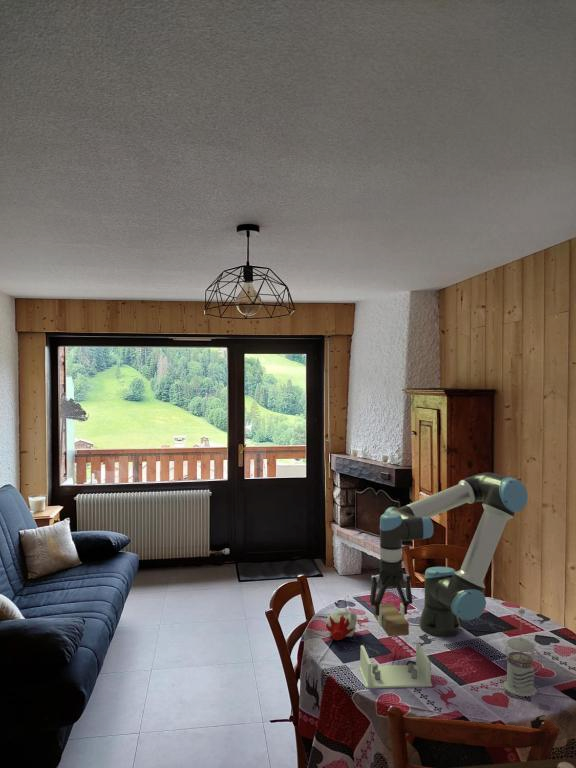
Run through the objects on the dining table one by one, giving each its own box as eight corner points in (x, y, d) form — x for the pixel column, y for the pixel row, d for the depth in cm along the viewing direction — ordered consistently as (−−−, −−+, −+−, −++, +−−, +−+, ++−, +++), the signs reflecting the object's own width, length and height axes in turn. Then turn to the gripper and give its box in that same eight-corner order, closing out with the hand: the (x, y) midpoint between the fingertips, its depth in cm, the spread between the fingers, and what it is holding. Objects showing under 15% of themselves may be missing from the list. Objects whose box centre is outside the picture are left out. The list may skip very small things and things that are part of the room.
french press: (497, 679, 178) (499, 602, 178) (532, 678, 179) (533, 601, 179) (512, 697, 168) (514, 615, 168) (549, 695, 169) (550, 615, 169)
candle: (357, 628, 213) (353, 651, 198) (328, 624, 215) (322, 647, 200) (357, 606, 211) (354, 628, 197) (328, 603, 214) (322, 624, 199)
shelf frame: (420, 666, 186) (420, 644, 186) (432, 686, 174) (432, 662, 174) (358, 668, 184) (359, 645, 184) (366, 688, 172) (366, 664, 172)
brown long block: (374, 616, 201) (374, 605, 201) (392, 614, 202) (392, 603, 202) (388, 636, 185) (388, 624, 185) (408, 635, 186) (408, 623, 186)
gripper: (415, 554, 197) (416, 617, 198) (360, 556, 196) (360, 620, 196) (422, 561, 190) (422, 627, 190) (364, 563, 188) (364, 629, 189)
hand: (391, 623), depth 193 cm, fingers closed on brown long block, 7 cm apart
